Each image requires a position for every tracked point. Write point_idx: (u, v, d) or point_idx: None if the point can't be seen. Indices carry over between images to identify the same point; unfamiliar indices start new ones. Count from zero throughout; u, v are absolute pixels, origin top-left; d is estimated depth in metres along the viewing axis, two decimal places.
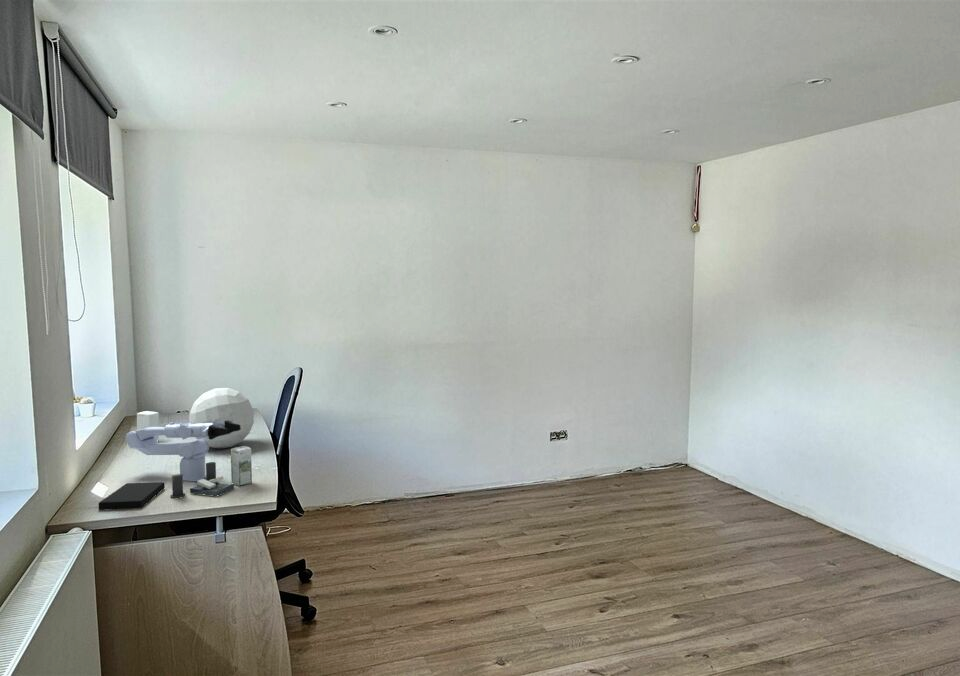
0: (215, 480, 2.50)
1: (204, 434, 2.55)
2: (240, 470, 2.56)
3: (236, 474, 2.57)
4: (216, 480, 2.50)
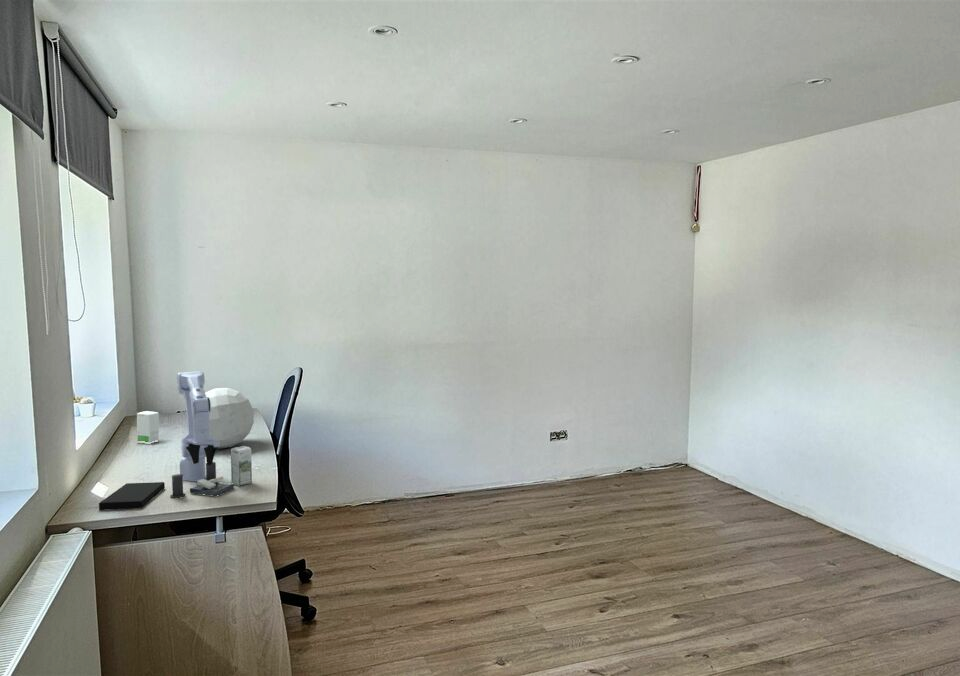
0: (215, 480, 2.50)
1: None
2: (240, 470, 2.56)
3: (236, 474, 2.57)
4: (216, 480, 2.50)
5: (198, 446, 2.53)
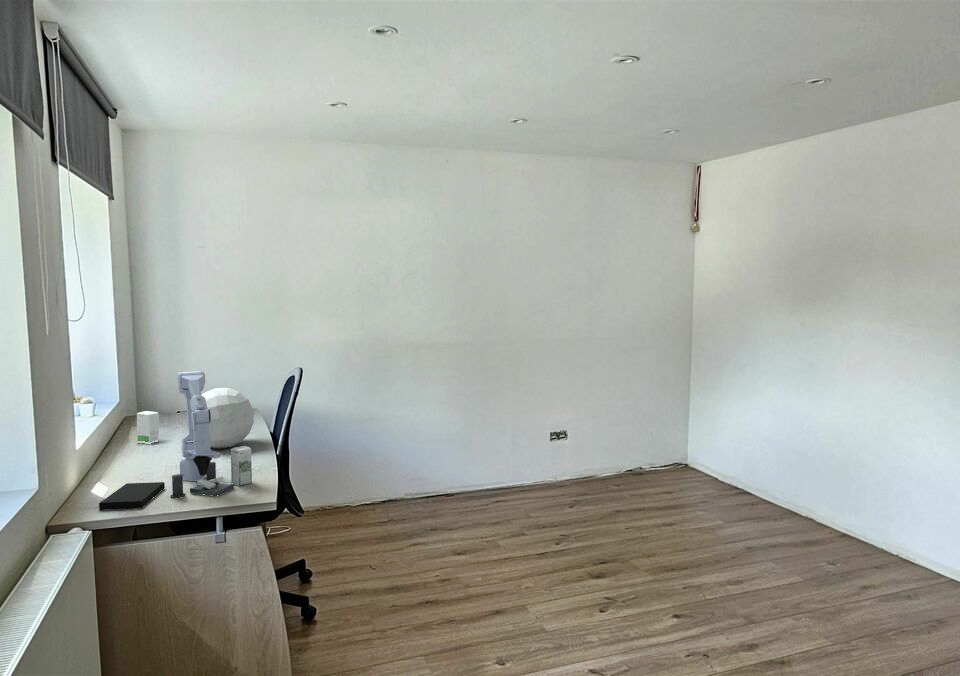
0: (215, 480, 2.50)
1: None
2: (240, 470, 2.56)
3: (236, 474, 2.57)
4: (216, 480, 2.50)
5: None
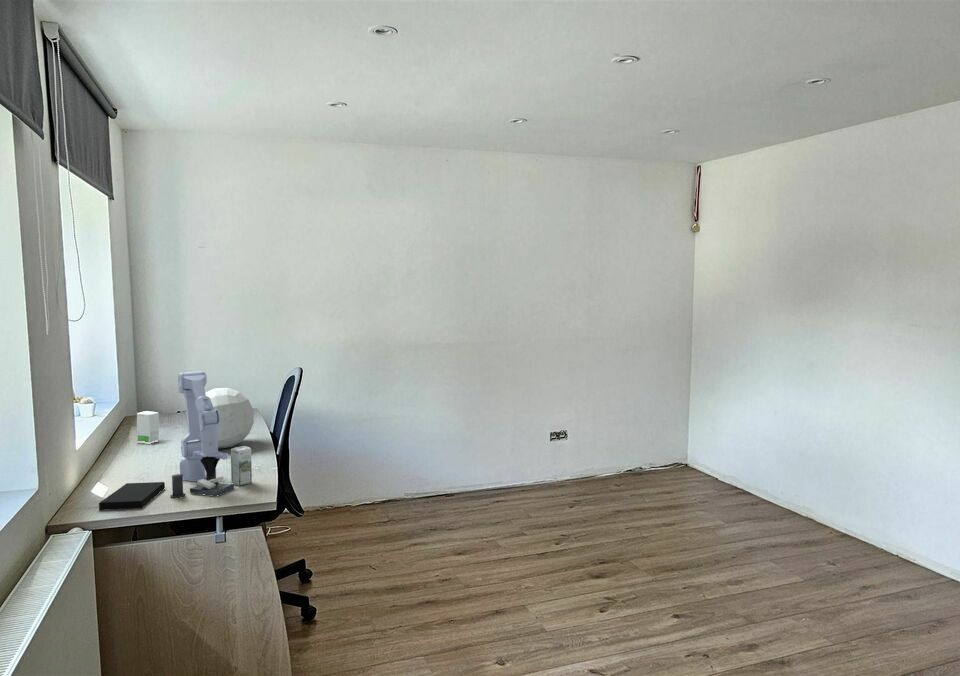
0: (215, 480, 2.50)
1: None
2: (240, 470, 2.56)
3: (236, 474, 2.57)
4: (216, 480, 2.50)
5: None
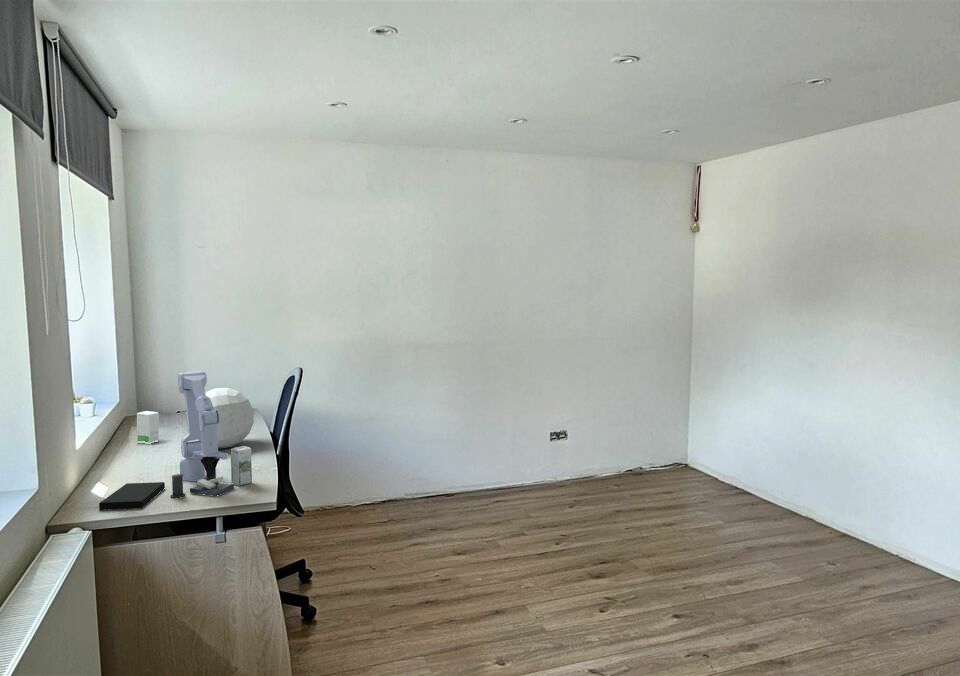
0: (215, 480, 2.50)
1: None
2: (240, 470, 2.56)
3: (236, 474, 2.57)
4: (216, 480, 2.50)
5: None
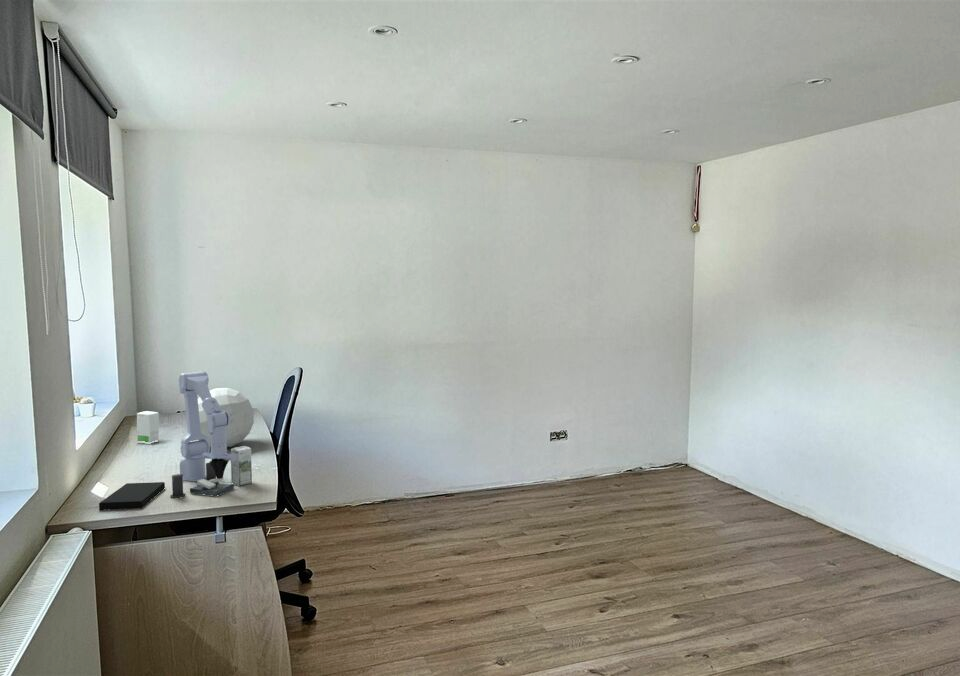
0: (215, 480, 2.50)
1: None
2: (240, 470, 2.56)
3: (236, 474, 2.57)
4: (216, 480, 2.50)
5: None
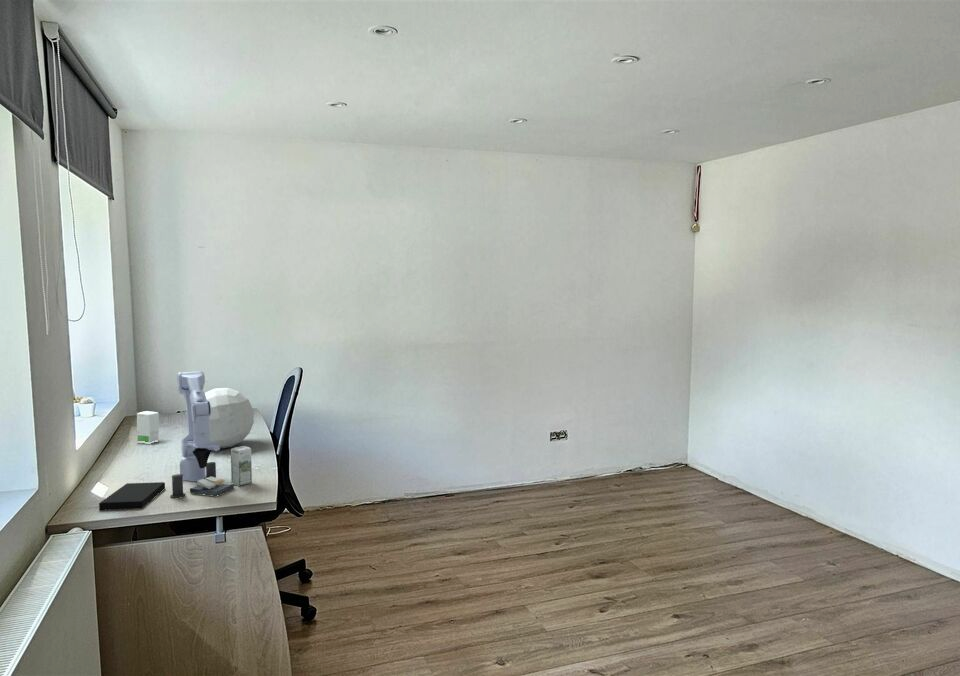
0: (215, 482, 2.50)
1: None
2: (240, 470, 2.56)
3: (236, 474, 2.57)
4: (216, 483, 2.50)
5: None
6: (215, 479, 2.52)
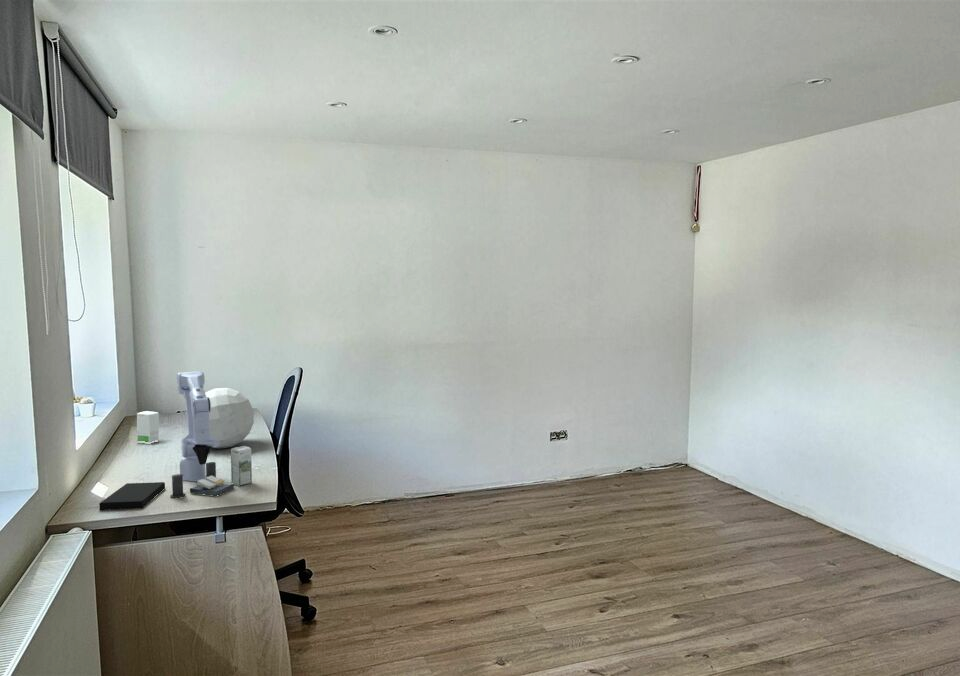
0: (215, 483, 2.50)
1: None
2: (240, 470, 2.56)
3: (236, 474, 2.57)
4: (216, 483, 2.50)
5: None
6: (215, 479, 2.52)
